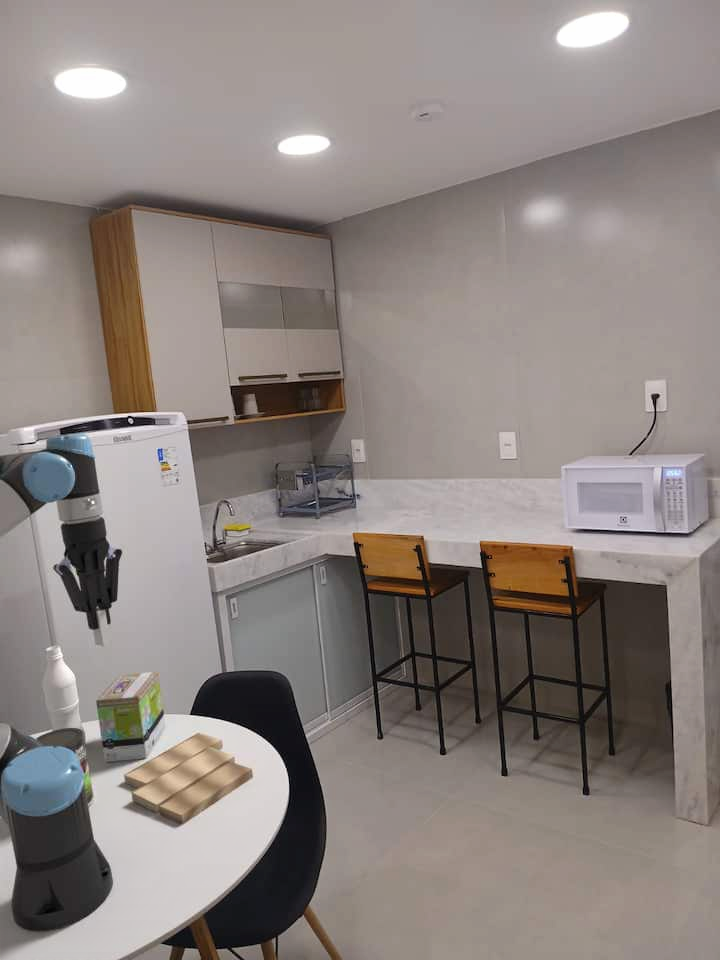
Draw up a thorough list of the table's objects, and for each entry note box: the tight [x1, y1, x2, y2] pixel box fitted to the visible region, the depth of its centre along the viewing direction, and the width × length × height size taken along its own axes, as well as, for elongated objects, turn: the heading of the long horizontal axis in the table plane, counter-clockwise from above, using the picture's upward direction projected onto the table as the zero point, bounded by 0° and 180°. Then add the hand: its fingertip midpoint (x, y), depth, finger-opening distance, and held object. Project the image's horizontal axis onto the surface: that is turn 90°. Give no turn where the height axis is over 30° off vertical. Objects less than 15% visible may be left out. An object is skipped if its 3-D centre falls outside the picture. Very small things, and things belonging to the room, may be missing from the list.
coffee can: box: [35, 728, 95, 808], centre depth 147 cm, size 10×10×14 cm
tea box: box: [95, 671, 167, 763], centre depth 170 cm, size 15×10×15 cm
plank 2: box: [131, 746, 236, 814], centre depth 151 cm, size 20×8×2 cm, turn 142°
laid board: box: [158, 761, 254, 825], centre depth 145 cm, size 18×7×2 cm, turn 142°
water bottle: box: [41, 645, 87, 744], centre depth 171 cm, size 7×7×25 cm
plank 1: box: [123, 732, 224, 789], centre depth 159 cm, size 20×8×2 cm, turn 142°
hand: (103, 643), depth 137 cm, fingers closed
